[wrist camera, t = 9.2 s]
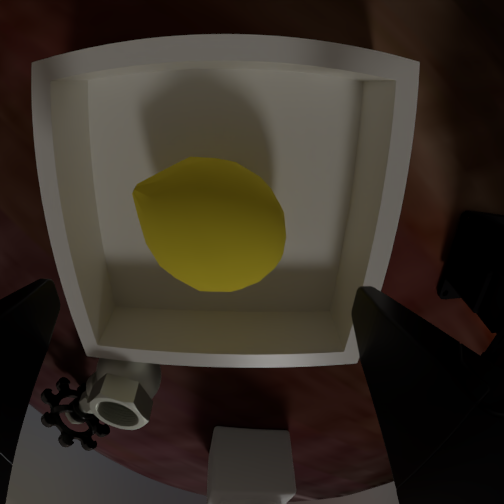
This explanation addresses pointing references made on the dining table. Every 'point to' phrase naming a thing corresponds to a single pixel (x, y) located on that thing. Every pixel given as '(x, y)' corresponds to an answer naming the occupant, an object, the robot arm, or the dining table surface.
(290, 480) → the medicine bottle
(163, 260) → the lemon
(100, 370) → the valve
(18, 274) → the dining table surface
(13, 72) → the dining table surface
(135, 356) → the walled box
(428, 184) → the dining table surface
